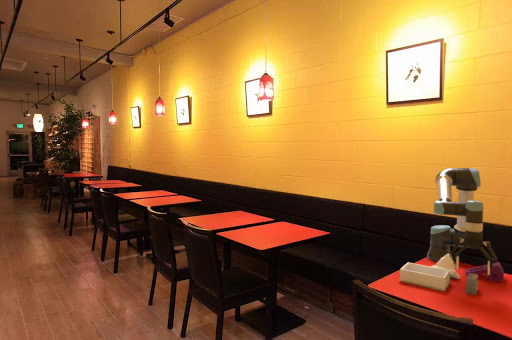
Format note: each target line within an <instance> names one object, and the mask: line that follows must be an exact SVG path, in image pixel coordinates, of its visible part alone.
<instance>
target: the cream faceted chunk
mask: <svg viewBox="0 0 512 340" xmlns="http://www.w3.org/2000/svg"><path fill="white" fill-rule="evenodd" d="M430 267H435V268H440V269H445V270H450V279H458V280H460V277H461V275H460V274H459V273H458V272H457V271H456V263H455V262H454V259H453V258H452V259H451V257H450V255H449V254H447V255H445V256H444V257H442V258H441V260H439V261H438V262H437V261H436V262H435V264H434V265H431V266H430Z"/></svg>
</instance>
